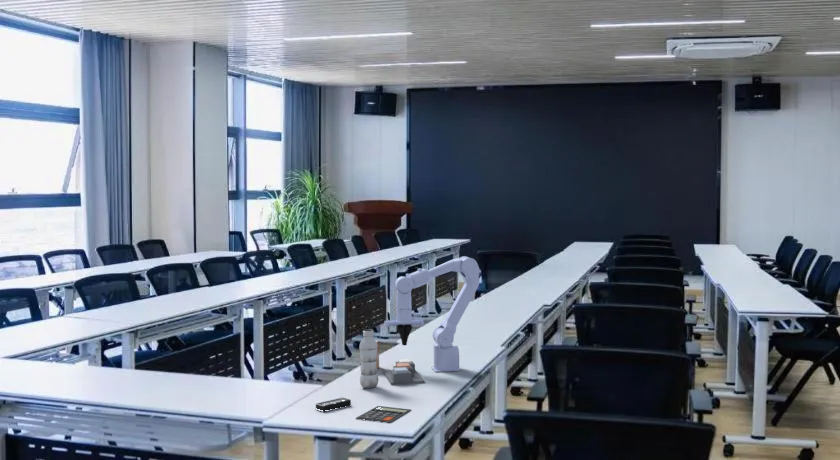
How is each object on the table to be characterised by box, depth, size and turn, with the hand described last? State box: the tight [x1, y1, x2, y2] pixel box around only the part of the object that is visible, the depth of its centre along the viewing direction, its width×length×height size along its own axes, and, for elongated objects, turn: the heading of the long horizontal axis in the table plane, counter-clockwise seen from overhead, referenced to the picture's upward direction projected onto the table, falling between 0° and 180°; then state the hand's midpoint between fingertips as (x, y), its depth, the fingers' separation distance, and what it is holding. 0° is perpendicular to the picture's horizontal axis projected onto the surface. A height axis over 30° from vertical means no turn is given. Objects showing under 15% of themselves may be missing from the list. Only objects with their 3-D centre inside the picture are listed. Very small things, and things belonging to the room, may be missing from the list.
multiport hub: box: [315, 397, 352, 411], centre depth 266 cm, size 4×11×2 cm, turn 133°
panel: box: [382, 361, 426, 386], centre depth 305 cm, size 12×20×4 cm, turn 11°
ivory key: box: [397, 358, 413, 364], centre depth 312 cm, size 4×4×2 cm
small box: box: [359, 339, 380, 369], centre depth 320 cm, size 8×6×10 cm
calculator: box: [355, 405, 412, 424], centre depth 257 cm, size 12×1×15 cm
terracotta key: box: [395, 363, 410, 369], centre depth 305 cm, size 4×4×2 cm
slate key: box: [394, 367, 408, 374], centre depth 298 cm, size 4×4×2 cm
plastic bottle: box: [358, 329, 379, 389], centre depth 290 cm, size 6×7×20 cm
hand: (404, 344), depth 314 cm, fingers closed
